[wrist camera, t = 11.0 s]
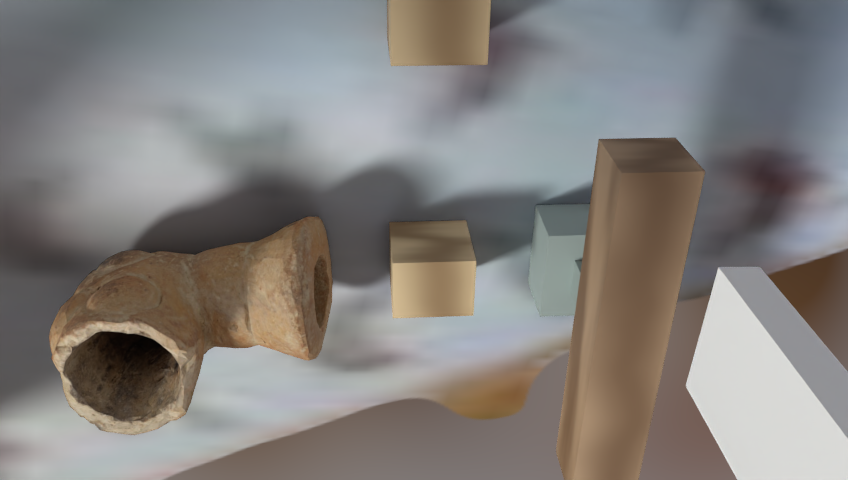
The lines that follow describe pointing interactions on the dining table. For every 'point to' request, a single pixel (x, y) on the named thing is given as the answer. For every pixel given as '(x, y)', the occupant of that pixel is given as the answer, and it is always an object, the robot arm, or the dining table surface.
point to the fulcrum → (557, 257)
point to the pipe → (186, 321)
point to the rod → (625, 303)
